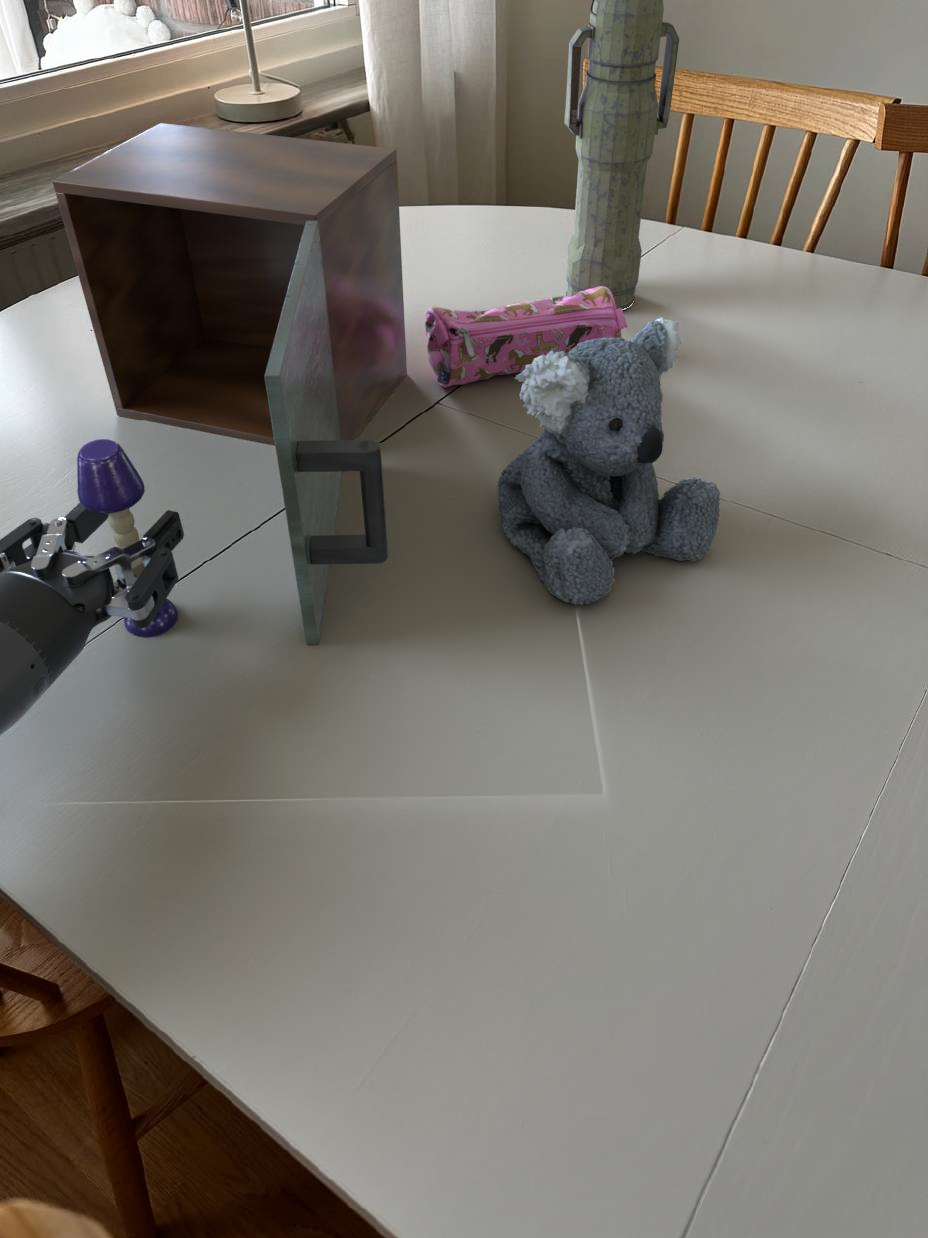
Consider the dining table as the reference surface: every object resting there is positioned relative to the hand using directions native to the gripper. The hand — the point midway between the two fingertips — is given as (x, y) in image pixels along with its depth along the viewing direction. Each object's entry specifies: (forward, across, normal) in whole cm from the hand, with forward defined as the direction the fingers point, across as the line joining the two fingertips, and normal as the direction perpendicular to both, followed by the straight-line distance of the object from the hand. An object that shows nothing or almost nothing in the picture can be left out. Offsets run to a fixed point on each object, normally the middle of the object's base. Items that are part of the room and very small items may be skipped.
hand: (138, 512), depth 75 cm
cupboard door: (+13, -12, +9) cm, 20 cm away
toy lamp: (-2, 0, +10) cm, 10 cm away
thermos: (+69, -21, +10) cm, 72 cm away
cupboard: (+34, +8, +10) cm, 36 cm away
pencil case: (+47, -17, +10) cm, 51 cm away
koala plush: (+21, -31, +10) cm, 38 cm away
